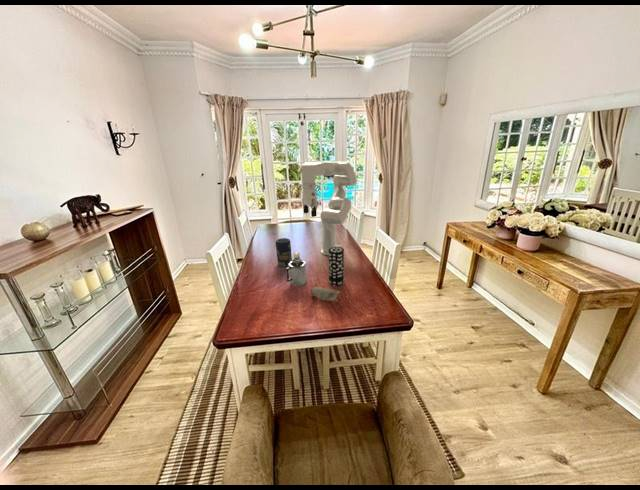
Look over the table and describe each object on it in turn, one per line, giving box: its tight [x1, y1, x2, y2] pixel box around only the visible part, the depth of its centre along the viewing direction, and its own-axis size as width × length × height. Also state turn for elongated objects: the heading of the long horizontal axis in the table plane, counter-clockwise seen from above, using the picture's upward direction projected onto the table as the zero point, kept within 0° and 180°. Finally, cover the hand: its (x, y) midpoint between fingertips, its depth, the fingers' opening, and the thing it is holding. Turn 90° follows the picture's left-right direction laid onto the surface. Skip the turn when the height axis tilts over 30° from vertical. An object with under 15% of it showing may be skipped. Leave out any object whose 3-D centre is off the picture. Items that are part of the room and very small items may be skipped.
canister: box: [275, 237, 293, 267], centre depth 162 cm, size 10×10×18 cm
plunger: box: [292, 251, 302, 267], centre depth 139 cm, size 6×6×16 cm
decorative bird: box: [311, 286, 342, 306], centre depth 125 cm, size 5×16×7 cm, turn 60°
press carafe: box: [285, 259, 307, 287], centre depth 140 cm, size 11×9×12 cm
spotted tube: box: [328, 247, 345, 287], centre depth 138 cm, size 8×8×20 cm
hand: (310, 214), depth 152 cm, fingers open, 9 cm apart
